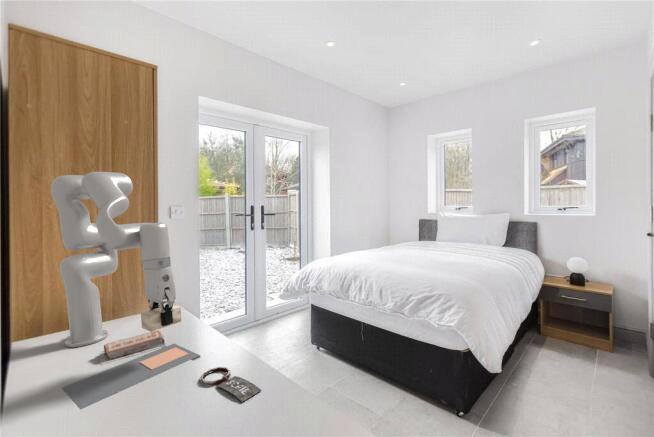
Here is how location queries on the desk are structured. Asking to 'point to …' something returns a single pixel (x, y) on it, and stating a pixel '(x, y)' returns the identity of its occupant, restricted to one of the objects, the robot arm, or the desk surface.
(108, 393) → the mat
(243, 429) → the desk surface
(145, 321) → the birch tile
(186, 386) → the desk surface
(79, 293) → the robot arm
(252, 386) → the keychain
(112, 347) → the packaged product
